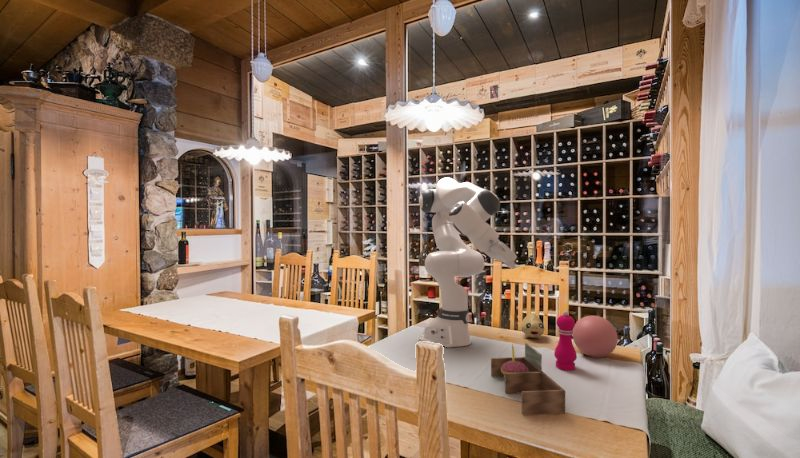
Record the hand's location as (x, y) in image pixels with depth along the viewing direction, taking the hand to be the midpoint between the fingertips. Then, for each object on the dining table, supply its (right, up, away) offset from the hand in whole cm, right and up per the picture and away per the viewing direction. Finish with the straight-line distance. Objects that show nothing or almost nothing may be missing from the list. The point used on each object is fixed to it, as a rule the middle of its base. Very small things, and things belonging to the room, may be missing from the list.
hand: (513, 267), depth 139 cm
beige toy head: (+18, -35, +34) cm, 52 cm away
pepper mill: (+18, -35, -1) cm, 40 cm away
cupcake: (-4, -36, -15) cm, 39 cm away
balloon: (+34, -35, +13) cm, 51 cm away
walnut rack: (-3, -36, -21) cm, 42 cm away
